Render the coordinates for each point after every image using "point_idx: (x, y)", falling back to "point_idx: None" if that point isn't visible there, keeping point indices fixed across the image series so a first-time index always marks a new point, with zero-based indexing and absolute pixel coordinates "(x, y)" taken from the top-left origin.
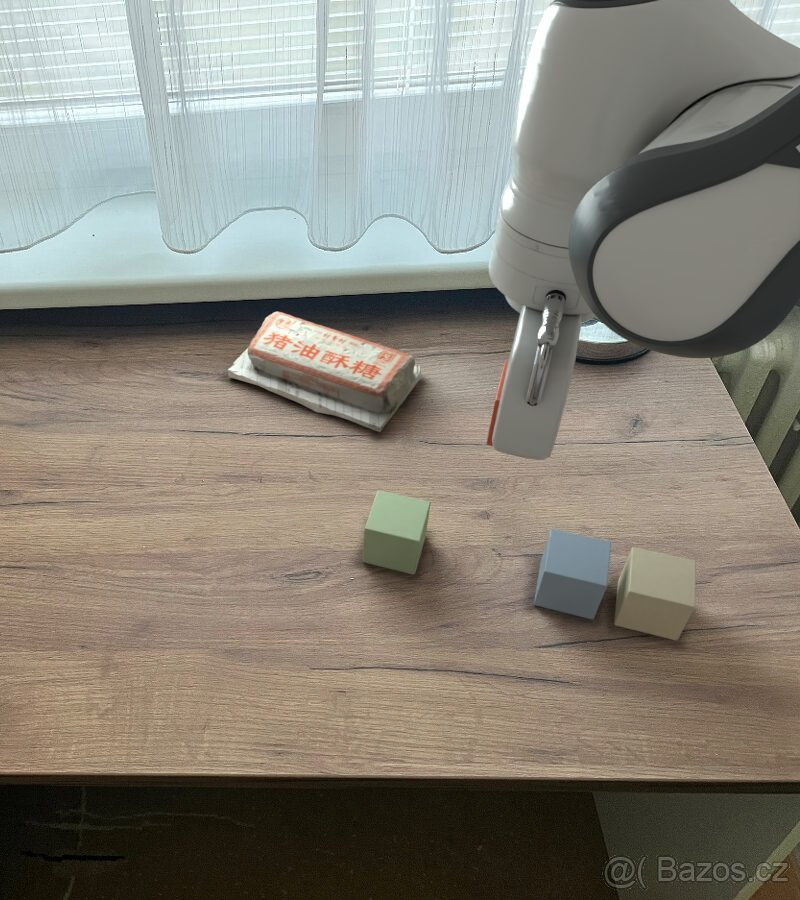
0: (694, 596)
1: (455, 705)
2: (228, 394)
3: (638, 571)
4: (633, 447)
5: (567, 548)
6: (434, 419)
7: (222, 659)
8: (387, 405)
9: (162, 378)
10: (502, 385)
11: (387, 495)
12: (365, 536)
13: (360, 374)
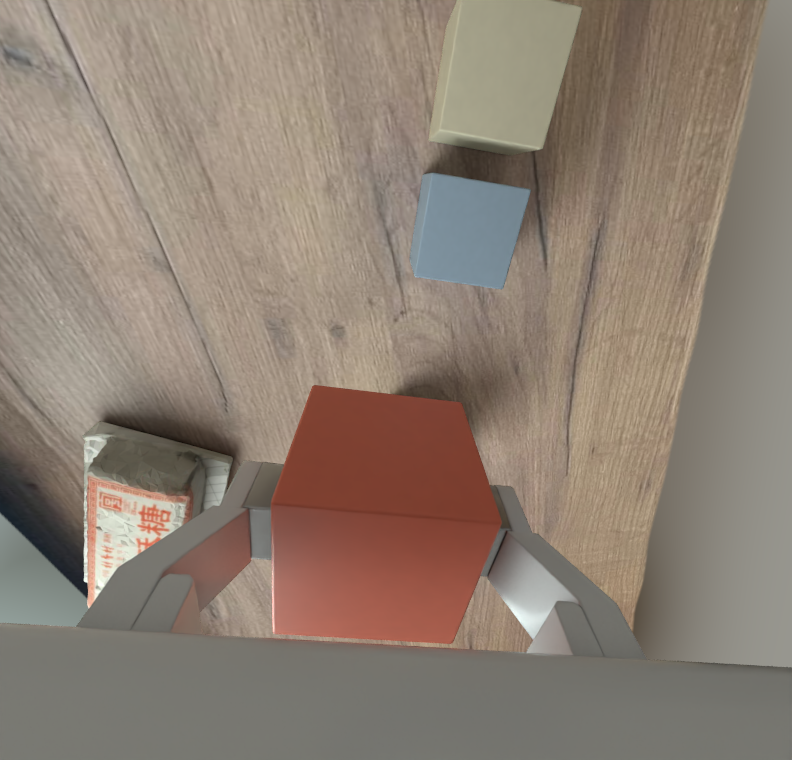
0: (557, 3)
1: (618, 354)
2: None
3: (499, 125)
4: (94, 72)
5: (455, 252)
6: (176, 397)
7: (555, 532)
8: (194, 469)
9: (229, 625)
10: (386, 635)
11: None
12: None
13: (166, 523)
